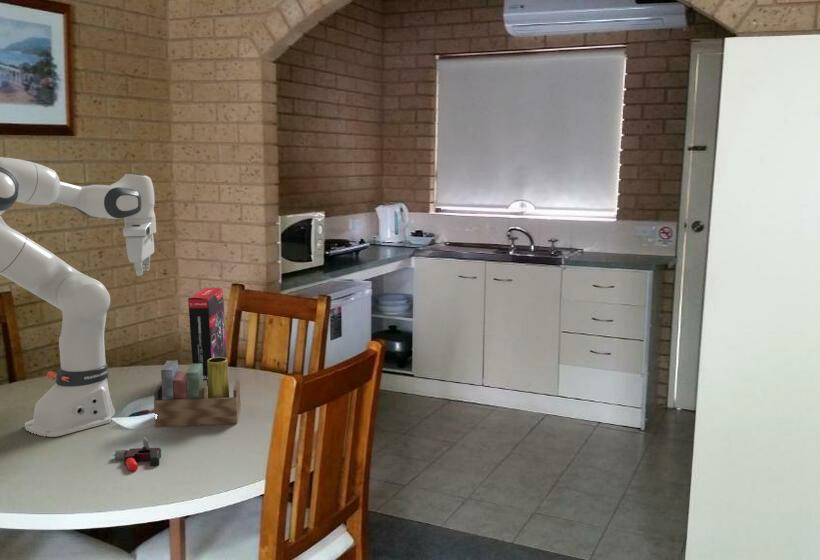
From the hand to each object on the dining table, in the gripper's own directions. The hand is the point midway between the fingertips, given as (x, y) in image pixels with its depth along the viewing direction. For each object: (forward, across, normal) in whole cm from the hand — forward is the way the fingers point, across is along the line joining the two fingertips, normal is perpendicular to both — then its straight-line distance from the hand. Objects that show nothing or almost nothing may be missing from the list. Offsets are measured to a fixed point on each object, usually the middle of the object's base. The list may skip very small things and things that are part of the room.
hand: (143, 272), depth 230 cm
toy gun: (+35, +64, +9) cm, 73 cm away
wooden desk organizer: (+34, +35, +20) cm, 53 cm away
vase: (+32, +36, +26) cm, 54 cm away
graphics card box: (+34, -3, +18) cm, 39 cm away
